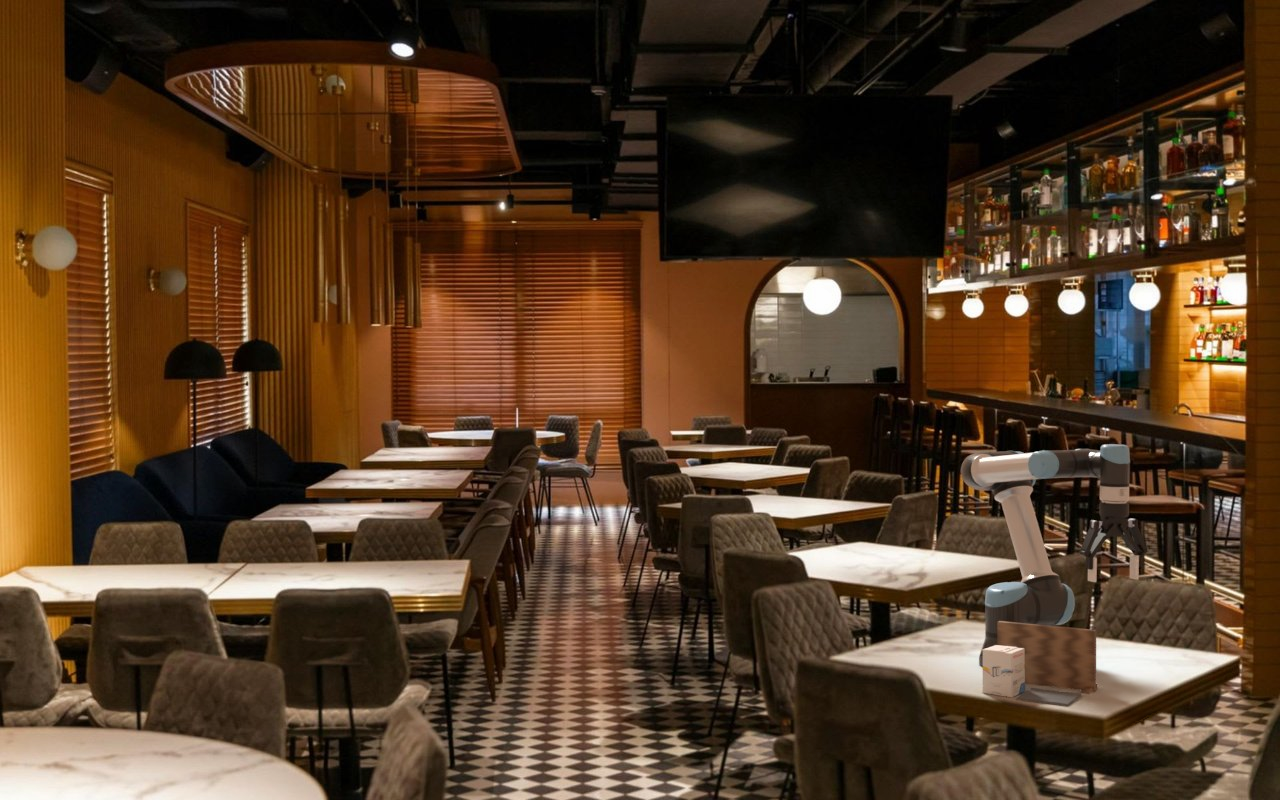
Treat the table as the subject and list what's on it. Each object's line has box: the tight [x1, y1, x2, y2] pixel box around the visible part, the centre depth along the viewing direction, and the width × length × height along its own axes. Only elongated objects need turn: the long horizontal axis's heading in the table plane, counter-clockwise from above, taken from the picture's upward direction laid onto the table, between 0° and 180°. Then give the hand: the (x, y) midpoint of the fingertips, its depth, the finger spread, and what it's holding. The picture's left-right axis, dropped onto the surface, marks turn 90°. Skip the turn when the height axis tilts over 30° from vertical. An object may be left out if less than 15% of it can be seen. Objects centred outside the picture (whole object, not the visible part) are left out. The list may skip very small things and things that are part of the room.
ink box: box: [982, 645, 1026, 698], centre depth 362 cm, size 9×8×12 cm
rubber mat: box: [1016, 687, 1083, 707], centre depth 356 cm, size 13×13×1 cm
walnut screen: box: [997, 621, 1099, 694], centre depth 370 cm, size 26×7×16 cm, turn 57°
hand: (1113, 580), depth 372 cm, fingers open, 13 cm apart
